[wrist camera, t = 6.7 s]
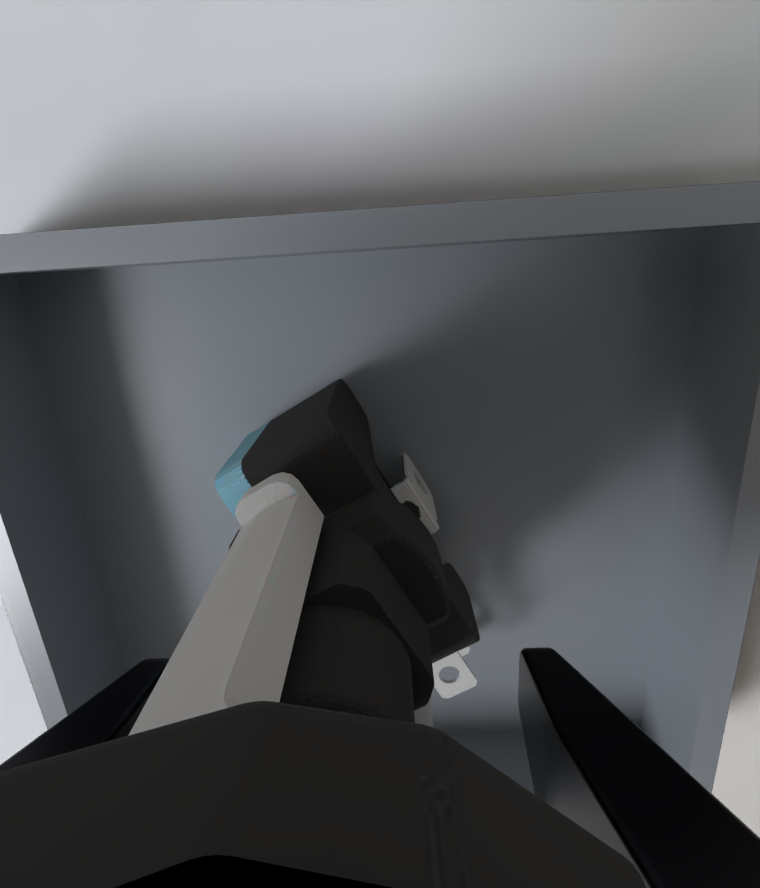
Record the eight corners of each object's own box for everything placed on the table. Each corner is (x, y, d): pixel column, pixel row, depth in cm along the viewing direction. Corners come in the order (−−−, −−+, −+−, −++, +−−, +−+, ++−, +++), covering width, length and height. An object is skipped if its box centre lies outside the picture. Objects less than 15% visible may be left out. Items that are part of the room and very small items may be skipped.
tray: (722, 197, 9) (836, 175, 7) (648, 727, 13) (703, 831, 11) (2, 247, 10) (-125, 242, 7) (138, 736, 14) (84, 835, 11)
